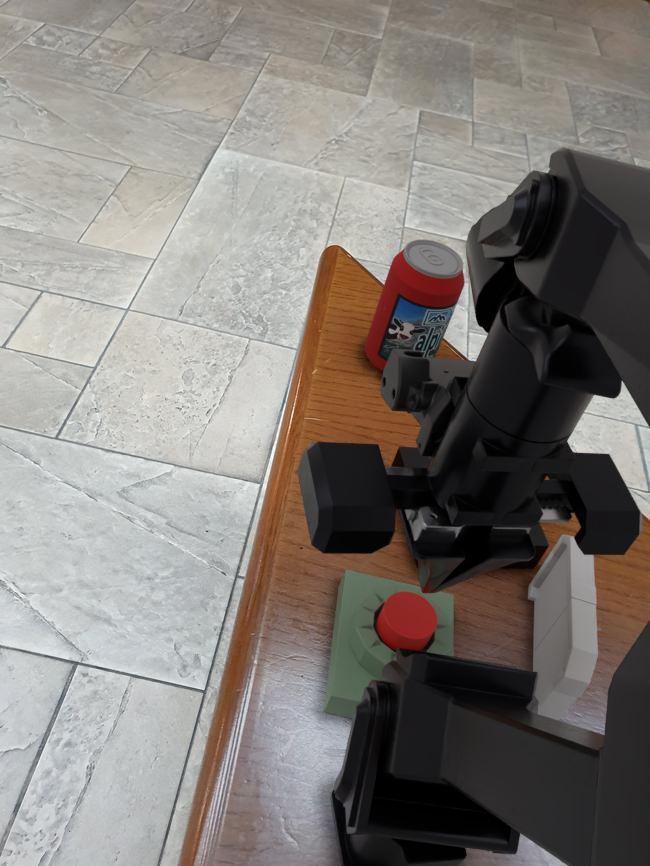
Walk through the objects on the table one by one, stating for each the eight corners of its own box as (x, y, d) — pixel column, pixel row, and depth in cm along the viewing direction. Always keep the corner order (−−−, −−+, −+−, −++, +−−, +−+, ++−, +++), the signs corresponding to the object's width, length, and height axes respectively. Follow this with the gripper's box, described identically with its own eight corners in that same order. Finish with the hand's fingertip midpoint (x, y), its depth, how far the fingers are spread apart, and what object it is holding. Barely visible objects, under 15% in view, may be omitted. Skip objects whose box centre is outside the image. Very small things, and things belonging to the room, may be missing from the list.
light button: (428, 659, 55) (437, 644, 54) (374, 646, 55) (381, 631, 54) (429, 612, 58) (437, 598, 56) (378, 600, 57) (385, 585, 56)
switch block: (443, 739, 55) (463, 709, 53) (323, 712, 55) (337, 681, 52) (444, 611, 63) (462, 579, 60) (338, 586, 62) (351, 553, 59)
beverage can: (385, 389, 79) (424, 283, 71) (349, 344, 83) (382, 238, 75) (442, 377, 82) (486, 274, 74) (405, 334, 86) (443, 231, 78)
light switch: (524, 725, 57) (572, 664, 52) (528, 585, 66) (570, 521, 61) (548, 733, 57) (600, 673, 52) (549, 592, 66) (593, 529, 61)
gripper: (620, 316, 50) (520, 491, 61) (313, 288, 45) (262, 485, 56) (709, 454, 43) (577, 627, 53) (352, 438, 38) (284, 633, 48)
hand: (426, 586), depth 53 cm, fingers closed
